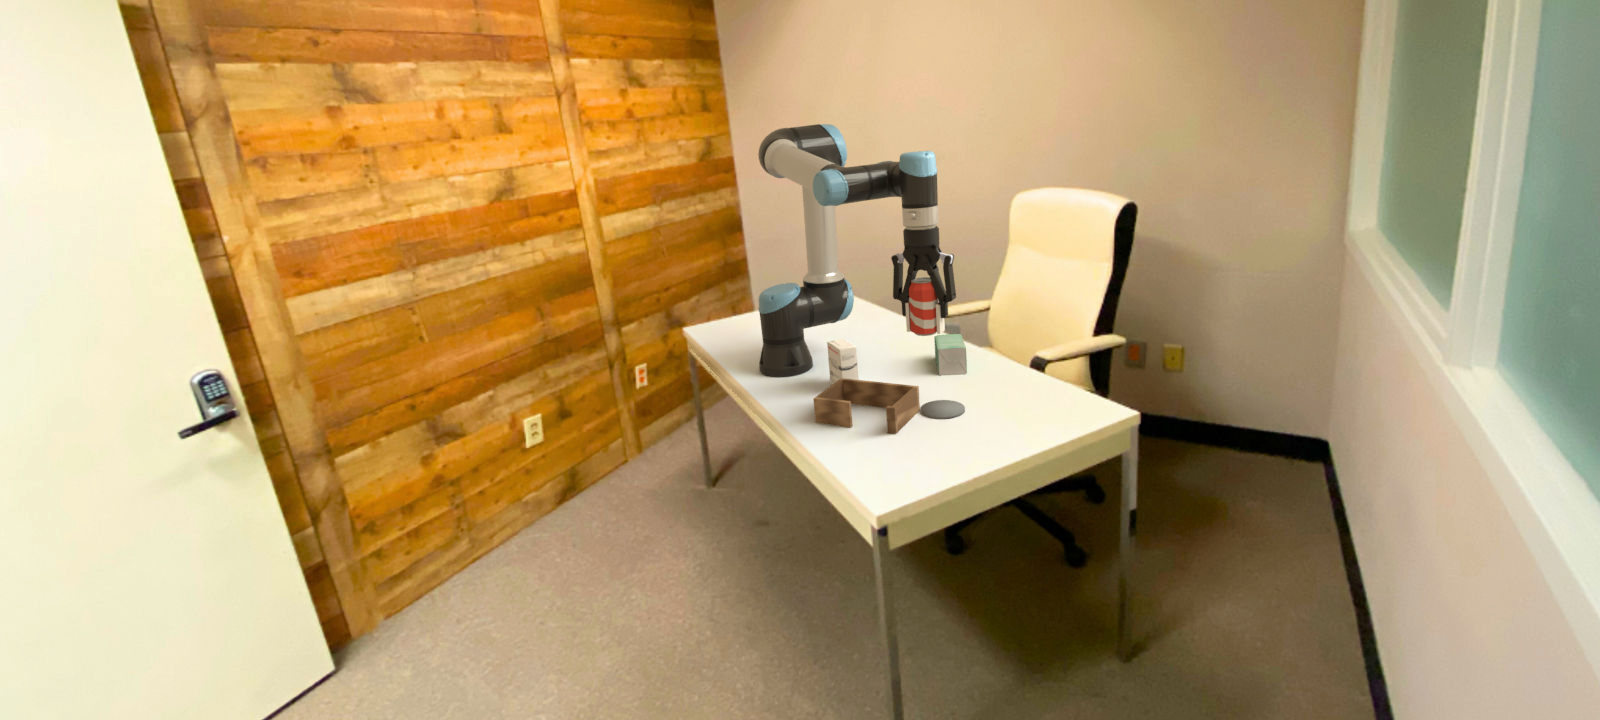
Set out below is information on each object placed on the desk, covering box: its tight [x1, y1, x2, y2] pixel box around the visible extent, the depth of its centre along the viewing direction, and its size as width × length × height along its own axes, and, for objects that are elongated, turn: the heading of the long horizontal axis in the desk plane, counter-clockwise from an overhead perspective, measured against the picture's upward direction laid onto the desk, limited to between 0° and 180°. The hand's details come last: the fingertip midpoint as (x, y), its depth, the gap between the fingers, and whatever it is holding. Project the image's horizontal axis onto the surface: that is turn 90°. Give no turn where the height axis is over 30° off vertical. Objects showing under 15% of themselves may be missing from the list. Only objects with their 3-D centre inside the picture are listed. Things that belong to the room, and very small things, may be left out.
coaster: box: [920, 399, 966, 420], centre depth 171 cm, size 10×10×1 cm
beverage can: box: [909, 276, 939, 337], centre depth 163 cm, size 6×6×12 cm
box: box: [933, 333, 968, 376], centre depth 198 cm, size 7×14×8 cm, turn 174°
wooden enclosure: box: [813, 378, 921, 435], centre depth 171 cm, size 20×14×6 cm
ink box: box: [826, 338, 860, 386], centre depth 190 cm, size 8×5×12 cm, turn 20°
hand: (925, 330), depth 165 cm, fingers closed on beverage can, 6 cm apart
